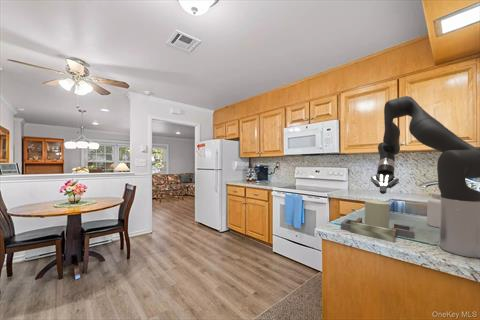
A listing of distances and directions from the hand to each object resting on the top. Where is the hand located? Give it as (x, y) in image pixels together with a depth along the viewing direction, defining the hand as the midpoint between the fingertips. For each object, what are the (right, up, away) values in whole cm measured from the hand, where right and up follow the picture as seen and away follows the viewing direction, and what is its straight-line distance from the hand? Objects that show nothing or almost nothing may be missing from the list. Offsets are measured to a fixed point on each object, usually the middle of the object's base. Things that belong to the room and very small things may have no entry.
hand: (382, 192), depth 104 cm
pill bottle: (+18, -14, -11) cm, 25 cm away
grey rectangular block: (-13, -13, -14) cm, 23 cm away
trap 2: (-6, -13, -21) cm, 26 cm away
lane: (-16, -13, -18) cm, 27 cm away
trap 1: (-25, -13, -15) cm, 31 cm away
